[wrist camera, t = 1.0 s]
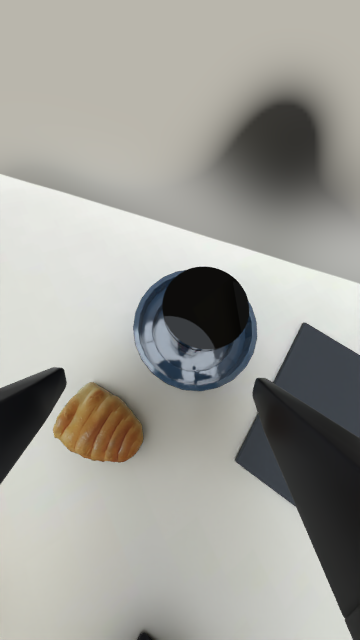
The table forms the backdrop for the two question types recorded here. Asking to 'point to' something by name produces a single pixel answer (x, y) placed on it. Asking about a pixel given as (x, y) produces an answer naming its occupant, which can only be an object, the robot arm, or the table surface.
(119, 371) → the table surface
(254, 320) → the bowl
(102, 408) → the pastry
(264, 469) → the placemat
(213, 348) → the supplement container
